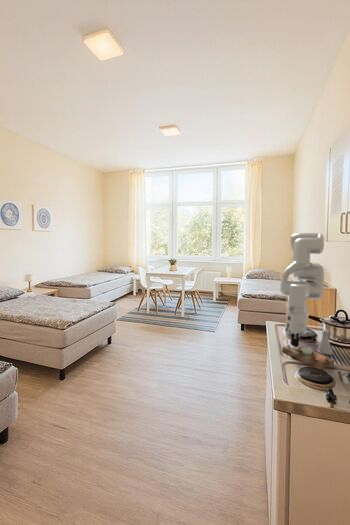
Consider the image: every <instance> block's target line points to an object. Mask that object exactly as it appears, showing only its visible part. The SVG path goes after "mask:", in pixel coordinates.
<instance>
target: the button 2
mask: <svg viewBox="0 0 350 525" xmlns="http://www.w3.org/2000/svg"><path fill="white" fill-rule="evenodd" d="M312 350H313V349H312V348H311V347H308V346H303V348H302V353H303V354H305V355H307V356H309V355H312Z"/></svg>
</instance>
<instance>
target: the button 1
mask: <svg viewBox="0 0 350 525" xmlns="http://www.w3.org/2000/svg"><path fill="white" fill-rule="evenodd" d="M289 345H290V348H292V349H294V350H297V349H299V346H298V347H295V346H293V345H291V343H290V344H289Z"/></svg>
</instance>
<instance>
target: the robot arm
mask: <svg viewBox="0 0 350 525" xmlns="http://www.w3.org/2000/svg"><path fill="white" fill-rule="evenodd" d="M290 247H291V250H292V260H291V264H289V265H287V267H286V268H285V269H284V270H283V271H282V275H281V280H280V293H281V294H282V295H284V296H288V307H287V314H286V319H285V324H284V328H285V332H286V331H287V334H286V335H287V336H289V337H290V339H291V340H290V344H291V345H293V346H295V347H298V346H299V345H300V343H299V342H300V339H301V338H300V335H303V334H306V333H308V314H309V304H308V303H307V299H308V300H321V299H322V298H324V284H325V281H324V280H325V269H324V267H323V265H322V264H317V263H310V262H311V255H312V254H314V255H315V254H316V255H319V254H322V253H323V251H324V247H325V237H324V235H323V233H320V232H297V233H293V234H292V235H291V236H290ZM292 274H293V275H292ZM290 275H292V276H293V277H294V278H295V279H296V280H297V281H296V280H295V281H294V280H288V277H289V276H290ZM299 280H304V281H299ZM310 281H311V282H310Z"/></svg>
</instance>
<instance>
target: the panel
mask: <svg viewBox="0 0 350 525" xmlns="http://www.w3.org/2000/svg"><path fill="white" fill-rule="evenodd" d="M281 347H282V348H281V349H282V350H281V352H282V353H284V354H287V356H288V355H289V356H290V357H292V356H293V357H292V358H295V359H297V360H298V361H301V362H302V363H304V364H307V366H308V365H309V366H310V367H312V368H314V367H315V368H314V369H316V368H318V369H319V370H322V369H326V368H328V367H333V366H335V359H334V358H331V357H330V356H327V355H325V354H320V353H319V352H317V351H314V350H313V349H312V355H309V356H307V355H305V354H303V353H302V348H303V347H304V346H303V345H301V344H299V349H297V350H294V349H292V348H290V344H287V345H283V346H281ZM316 355H321V356H324V357H325V358H326V361H325V362H320V361H318V360H316V359H315V357H316ZM318 369H317V370H318Z"/></svg>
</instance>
